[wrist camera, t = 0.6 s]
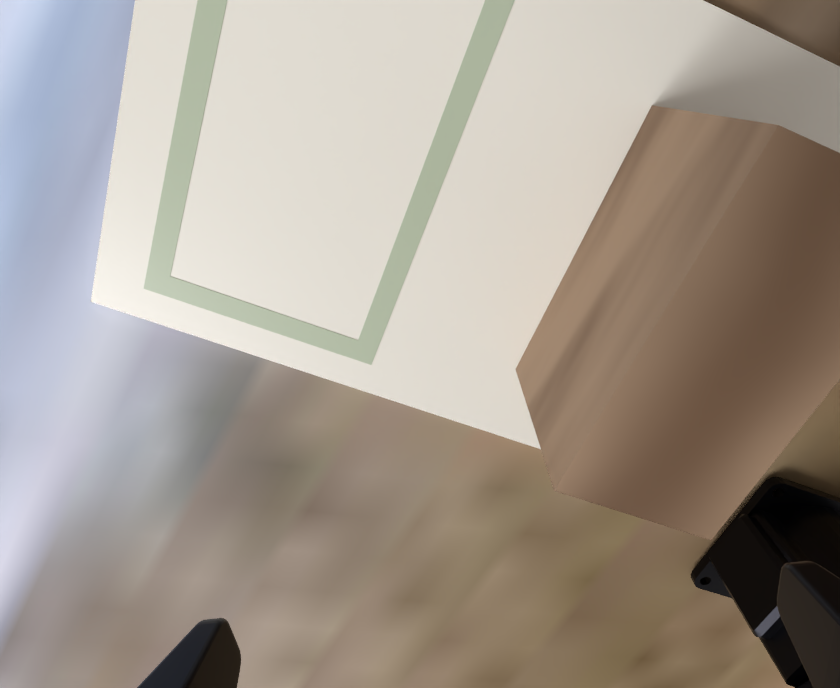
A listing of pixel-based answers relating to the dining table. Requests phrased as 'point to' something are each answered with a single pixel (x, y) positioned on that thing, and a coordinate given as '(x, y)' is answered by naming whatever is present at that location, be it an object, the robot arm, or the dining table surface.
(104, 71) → the dining table surface
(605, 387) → the walnut block
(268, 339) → the white flat sheet
